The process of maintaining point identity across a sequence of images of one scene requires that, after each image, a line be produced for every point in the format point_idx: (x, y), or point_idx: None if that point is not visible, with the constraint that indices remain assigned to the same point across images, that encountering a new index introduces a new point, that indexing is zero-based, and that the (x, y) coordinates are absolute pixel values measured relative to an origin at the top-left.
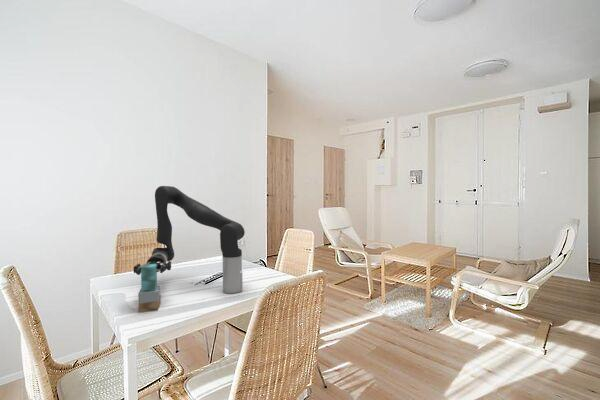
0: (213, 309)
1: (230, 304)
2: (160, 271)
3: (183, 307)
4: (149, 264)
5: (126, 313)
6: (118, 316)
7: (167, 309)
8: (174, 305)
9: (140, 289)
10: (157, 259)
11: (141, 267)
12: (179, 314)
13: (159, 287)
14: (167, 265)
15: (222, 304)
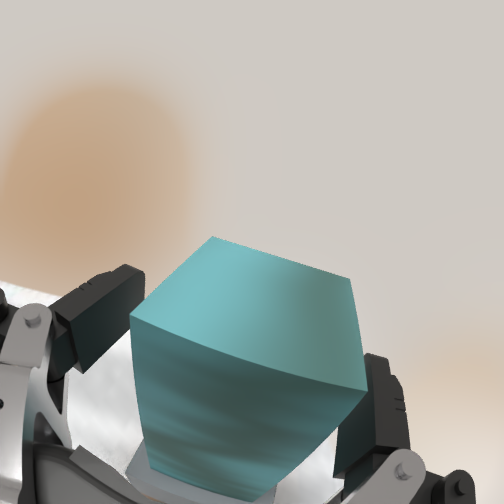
0: (46, 299)
1: (4, 287)
2: (142, 297)
3: (81, 381)
4: (259, 348)
5: (305, 487)
6: (332, 471)
7: (136, 415)
8: (93, 428)
9: (275, 489)
10: None
11: (349, 283)
12: (126, 346)
13: (131, 465)
14: (5, 311)
15: (9, 301)
